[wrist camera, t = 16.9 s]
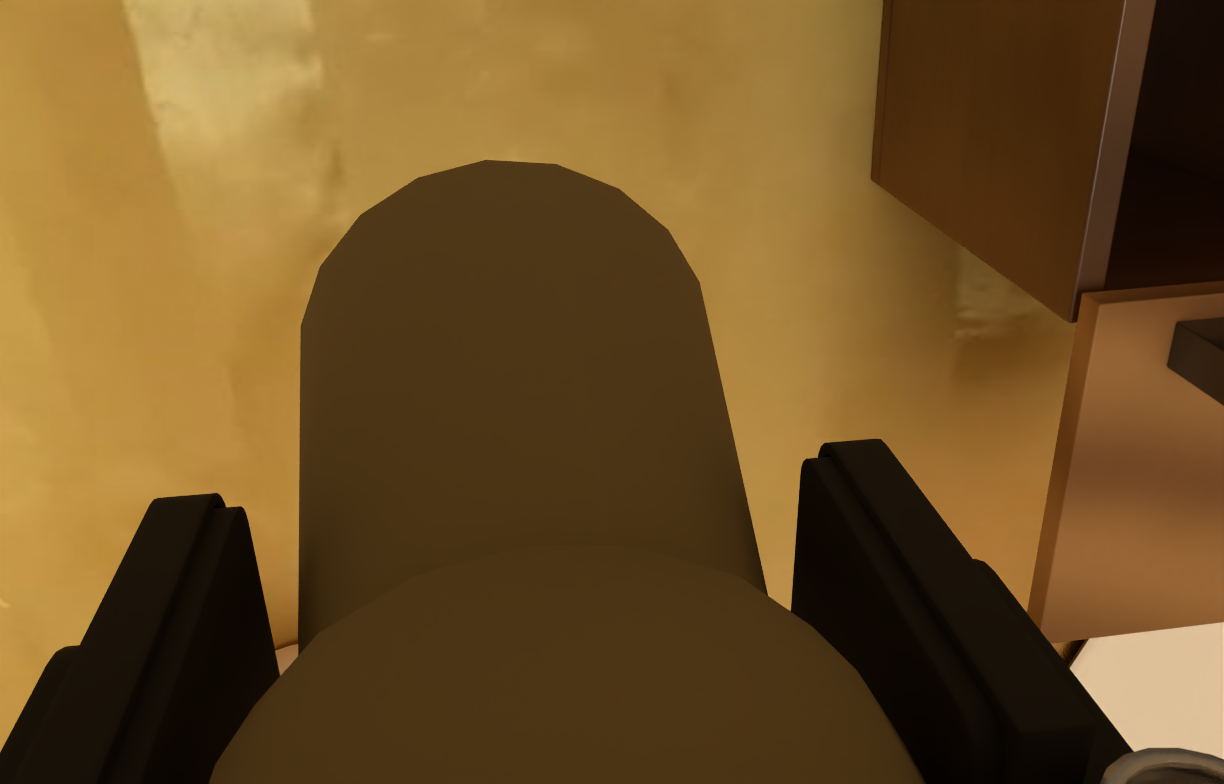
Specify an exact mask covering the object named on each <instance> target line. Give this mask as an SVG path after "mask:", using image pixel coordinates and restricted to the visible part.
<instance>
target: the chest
mask: <svg viewBox="0 0 1224 784" xmlns="http://www.w3.org/2000/svg"><path fill="white" fill-rule="evenodd" d="M871 179H872V181H873V182H875V183H876V184H878V185H880V187H882V188H883V189H884V190H886V191H887V192H889V193H890V194H891V195H893V196H894V197H895V198H897V199H898V200H900V201H901V202H902V203H904V204H905V205H906V206H908V207H909V208H911V209H912V210H913V211H915V212H916V213H918V214H919V215H920V216H922V217H923V218H924V219H926V220H927V221H929V222H930V223H931V224H933V225H934V226H936V227H937V228H938V229H940V230H941V231H942V232H944V233H945V234H947V235H948V236H949V237H951V238H952V239H953V240H955V241H956V242H958V243H959V244H960V245H962V246H963V247H965V248H966V249H967V250H969V251H970V252H971V253H973V254H974V255H976V256H977V257H978V258H980V259H981V260H982V261H984V262H985V263H987V264H988V265H989V266H991V267H992V268H994V269H995V270H996V271H998V272H999V273H1000V274H1002V275H1003V276H1005V277H1006V278H1007V279H1009V280H1010V281H1012V282H1013V283H1014V284H1016V285H1017V286H1018V287H1020V288H1021V289H1023V290H1024V291H1025V292H1027V293H1028V294H1029V295H1031V296H1032V297H1034V298H1035V299H1036V300H1038V301H1039V302H1041V303H1042V304H1043V305H1045V306H1046V307H1047V308H1049V309H1050V310H1052V311H1053V312H1054V313H1056V314H1057V315H1058V316H1060V317H1061V318H1063V319H1064V320H1065V321H1067V322H1069V323H1076V322H1077V320H1078V315H1079V309H1080V303H1081V297H1082V294H1083V293H1089V292H1101V291H1112V290H1124V289H1135V288H1147V287H1158V286H1170V285H1181V284H1193V283H1204V282H1215V281H1224V0H884V11H883V25H882V39H881V52H880V66H879V80H878V93H877V107H876V121H875V135H874V148H873V162H872V176H871Z"/></svg>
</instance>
